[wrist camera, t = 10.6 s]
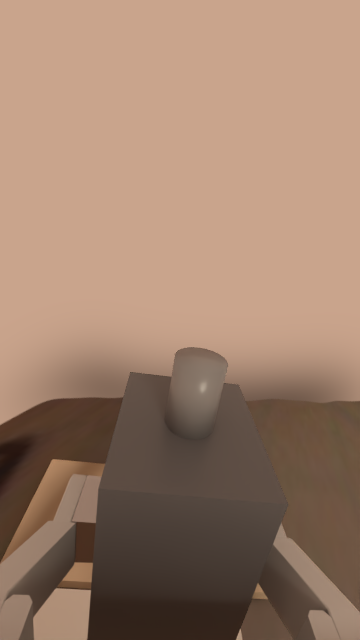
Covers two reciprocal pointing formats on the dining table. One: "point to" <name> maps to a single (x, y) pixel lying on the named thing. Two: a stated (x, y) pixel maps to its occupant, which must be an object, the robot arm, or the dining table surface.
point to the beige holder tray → (66, 616)
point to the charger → (182, 508)
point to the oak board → (46, 509)
